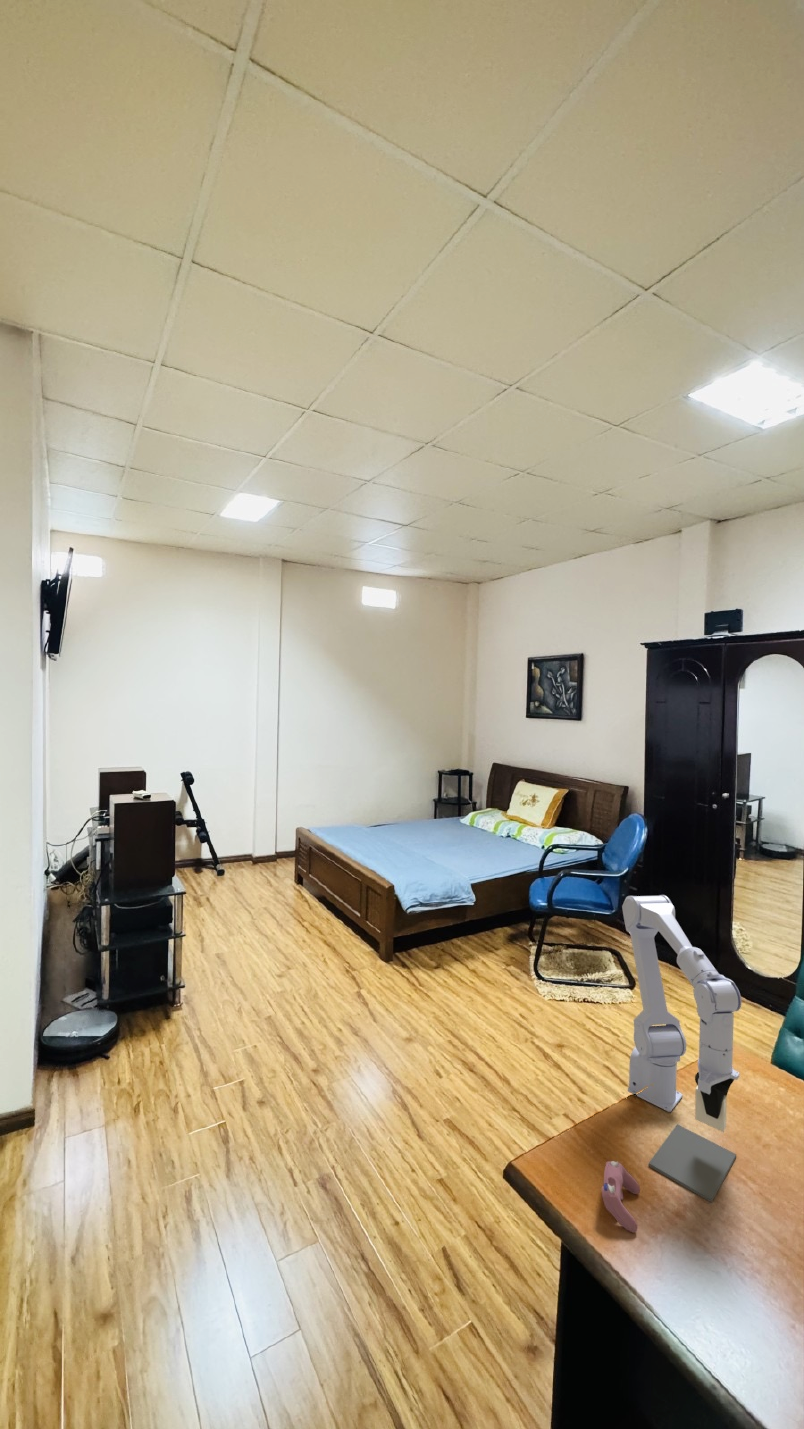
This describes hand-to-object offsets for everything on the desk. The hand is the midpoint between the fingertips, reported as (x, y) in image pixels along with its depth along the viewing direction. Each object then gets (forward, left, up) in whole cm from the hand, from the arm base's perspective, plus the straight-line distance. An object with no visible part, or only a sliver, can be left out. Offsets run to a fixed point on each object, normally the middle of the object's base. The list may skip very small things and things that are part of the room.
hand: (714, 1112), depth 109 cm
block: (-1, 0, -2) cm, 2 cm away
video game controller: (-8, -24, -9) cm, 27 cm away
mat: (-2, -4, -9) cm, 10 cm away
